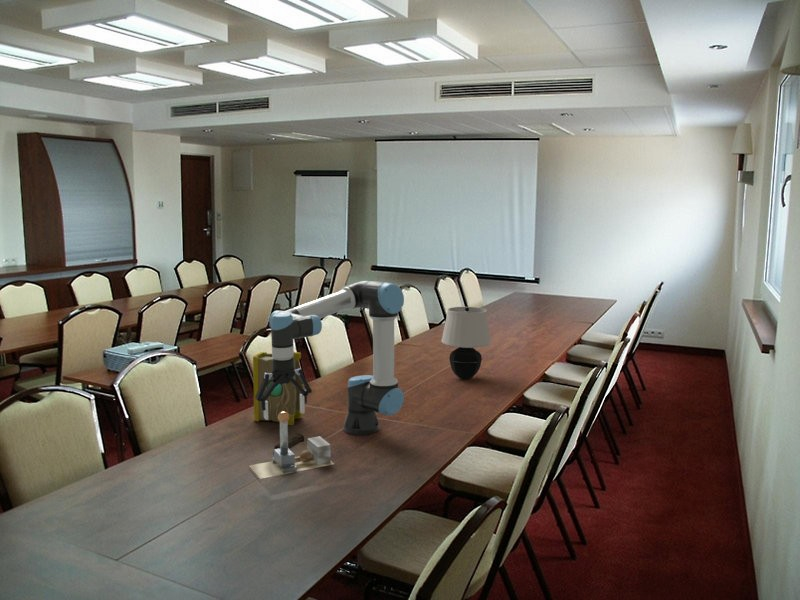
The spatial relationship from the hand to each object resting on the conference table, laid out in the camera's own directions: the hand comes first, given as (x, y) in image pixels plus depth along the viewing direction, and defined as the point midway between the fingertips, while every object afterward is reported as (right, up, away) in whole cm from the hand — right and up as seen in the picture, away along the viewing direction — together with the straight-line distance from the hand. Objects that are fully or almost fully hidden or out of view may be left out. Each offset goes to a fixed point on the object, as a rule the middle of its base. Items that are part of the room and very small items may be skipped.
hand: (284, 415), depth 238 cm
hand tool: (-2, -18, +22) cm, 28 cm away
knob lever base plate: (+2, -20, +4) cm, 21 cm away
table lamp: (+77, -2, +129) cm, 151 cm away
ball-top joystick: (-1, -18, +3) cm, 19 cm away
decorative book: (-13, -12, +57) cm, 60 cm away
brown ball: (+7, -18, +7) cm, 21 cm away
